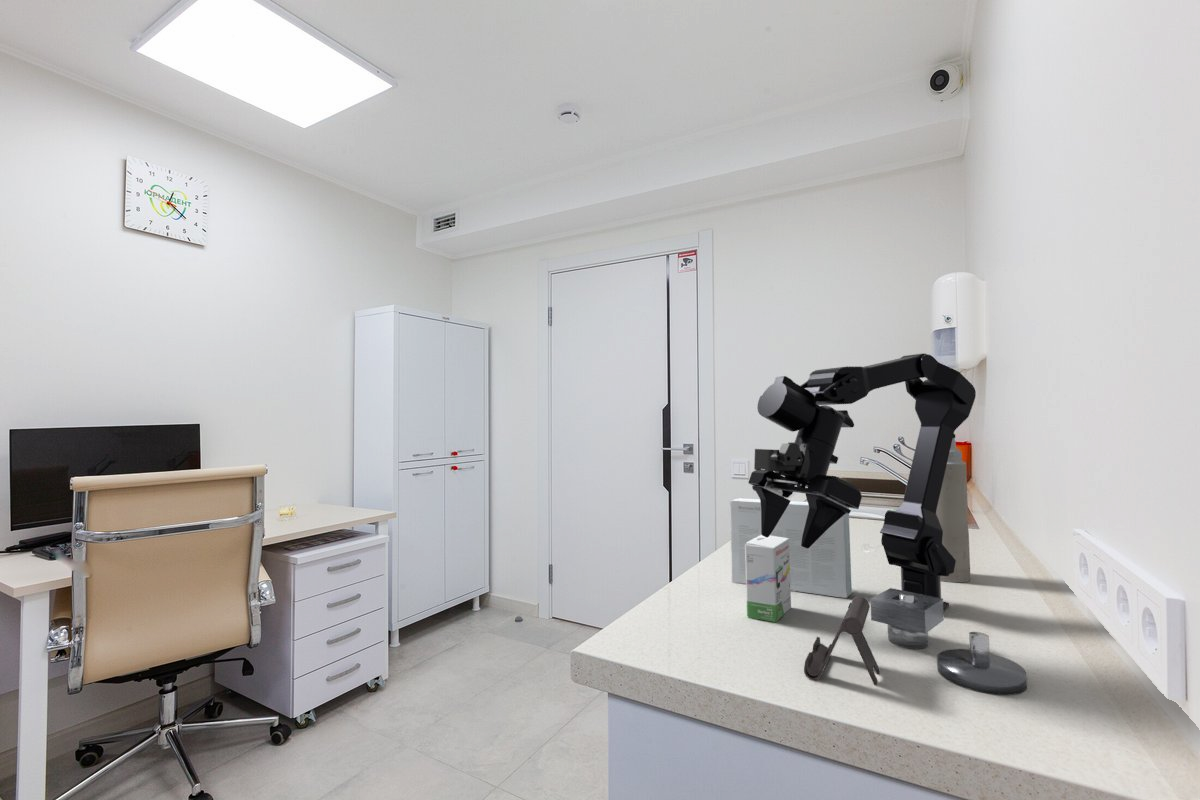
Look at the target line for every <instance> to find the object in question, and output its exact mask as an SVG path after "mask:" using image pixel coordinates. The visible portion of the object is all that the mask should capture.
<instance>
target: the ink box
mask: <svg viewBox="0 0 1200 800" xmlns="http://www.w3.org/2000/svg"><path fill="white" fill-rule="evenodd" d="M745 561H746V584H745V588H746V616H747V617H748V618H749V619H755V620H762V621H765V622H766V621H767V622H772V623H777V622H778V621H779V620H780V619H781V618H782V617H783V616H784V615H785V614H786V613H787V612H788V611H789V610H790V609H791V608H792V594H791V593H792V591H791V585H790V543H789V538H784V537H777V536H771V535H769V537H764V536H762V535H760V536H758V537H756V538H754V539H752V540H750V541H748V542H747V544H745Z"/></svg>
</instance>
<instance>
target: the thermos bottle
mask: <svg viewBox="0 0 1200 800" xmlns="http://www.w3.org/2000/svg"><path fill="white" fill-rule="evenodd" d="M955 438H956V433H954V434H953V439H952V443H951V448H950V452H949V457H948V461H947V465H946V470H945V474H944V479H943V483H942V488H941V492H940V496H939V501H938V505H937V510H936V515H937V517H938V520H939V522H940V525H941V527H942V530H943V537H942V544H943V546H944V547H945V548H946V549H947V550H948V552H949V553H950V554H951V555H952V556H953V558H954V559H955V560H956V563H955V568H954V572H953V573H952V574H949V576H940V579H941V582H946V583H965V582H969V581H970V580H972V579H971V564H970V563H971V561H970V560H971V559H970V557H971V556H970V555H971V554H970V534H969V533H970V531H969V523H968V522H969V521H968V518H969V506H968V505H969V503H968V501H969V500H968V480H967V479H968V478H967V477H968V475H967V474H968V473H967V463H966V461H963V460H962V457H963V454H962V450H960V449H958V448H957V443H956V440H955Z"/></svg>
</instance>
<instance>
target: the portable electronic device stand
mask: <svg viewBox="0 0 1200 800" xmlns="http://www.w3.org/2000/svg"><path fill="white" fill-rule="evenodd" d="M847 608H848V609H847V611H846V613H845V615H844V616H843V619H842V621H841V624H840V625H839V627H838V629H837V632H836V633H835V636H834V638H833V641H832V642H831V643H829V645H828V646H826V645H825V644H823V643H821V638H820V637H819V636H816V638H815V640H814V642H813V645H812V651H810V652H808V654H807V656H806V658H805V661H804V666H803V667H804V668H803V672H804V673H803V674H804V675H805V677H807V679H809V680H812V681H817V680H819V679H820V678H821V676H822V675H823V673H824V669H825V667H826V665H827V663H828V661H829V659H830V656H831V655H832V653H833V650H834V648H835V646H836V645H837V642H838V641H839V638H840V635H841V634H843V633H846V634H848V635H850V636H851V637H852V639H853V642H854V644H855V646H856V648H857V650H858V653H859V655H860V657H861V659H862V662H863V664H864V666H865V668H866V670H867V672H868V675H869V677H870V678H871V681H872V683H873V685H874V686H877V685H878V682H879V680H878V678H877V676H876V674H877V675H880V672H881V671H880V670H881V669H880V666H879V665H878V662H877V661H876V659H875V655H874V654H873V652H872V650H871V648H870V646H869V644H868V641H867V639H866V637H865V635H864V634H865V633H863V630H864V626H865V623H866V620H867V618H868V614H869V611H870V609H871V604H870V602H869V600H867V598H865V597H863V596H855V597H854V598H852V600H851V602H849V604H848V607H847Z"/></svg>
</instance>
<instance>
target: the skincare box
mask: <svg viewBox="0 0 1200 800" xmlns="http://www.w3.org/2000/svg"><path fill="white" fill-rule="evenodd" d="M729 506H730V507H729V509H730V511H729V513H730V551H731V552H730V553H731V554H730V555H731V558H730V559H731V582H732V583H735V584H742V585H746V561H745V544H747V542H748V541H750V540H752V539H754V538H756V537H758V536H760V535H762V534H761V502H760V498H758V499H757V498H743V497H742V498H741V497H739V498H735V499H732V500H730V501H729ZM847 508H848V507H847ZM848 509H850V508H848ZM808 511H809V505H808V501H796V500H790V503H789V505H788V507H787V508H786V510H785V511H784V513H783V515H782V516H781V518H780V520H779V521H778V523H777V525H776V526H775V528H774V530H773V531H772V533H771V534H770V535H771V536H777V537H784V538H789V543H790V585H791V592H798V593H799V592H800V593H807V594H814V595H821V596H830V597H836V598H843V599H848V597H849V596H850V595H851V593H852V590H853V588H852V564H851V561H852V559H851V558H852V557H851V537H850V513H849V514H848V513H846V514H844V515H843V516H842V517H841V518H840V519H839V520H837V521H836V522H835V523H834V524H833V525H832V526H831V527H829V528H828V529H827V530H826V531H825V532H824V533H823V534H822V535H821V536H820V537H819V538H818V539H817V540H816V541H815V542H814V543H813V544H812V545H811V546H810V547H809V548H808V549H807V548H804V547H802V546H801V542H802V536H803V531H804V527H805V523H806V519H807V515H808Z"/></svg>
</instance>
